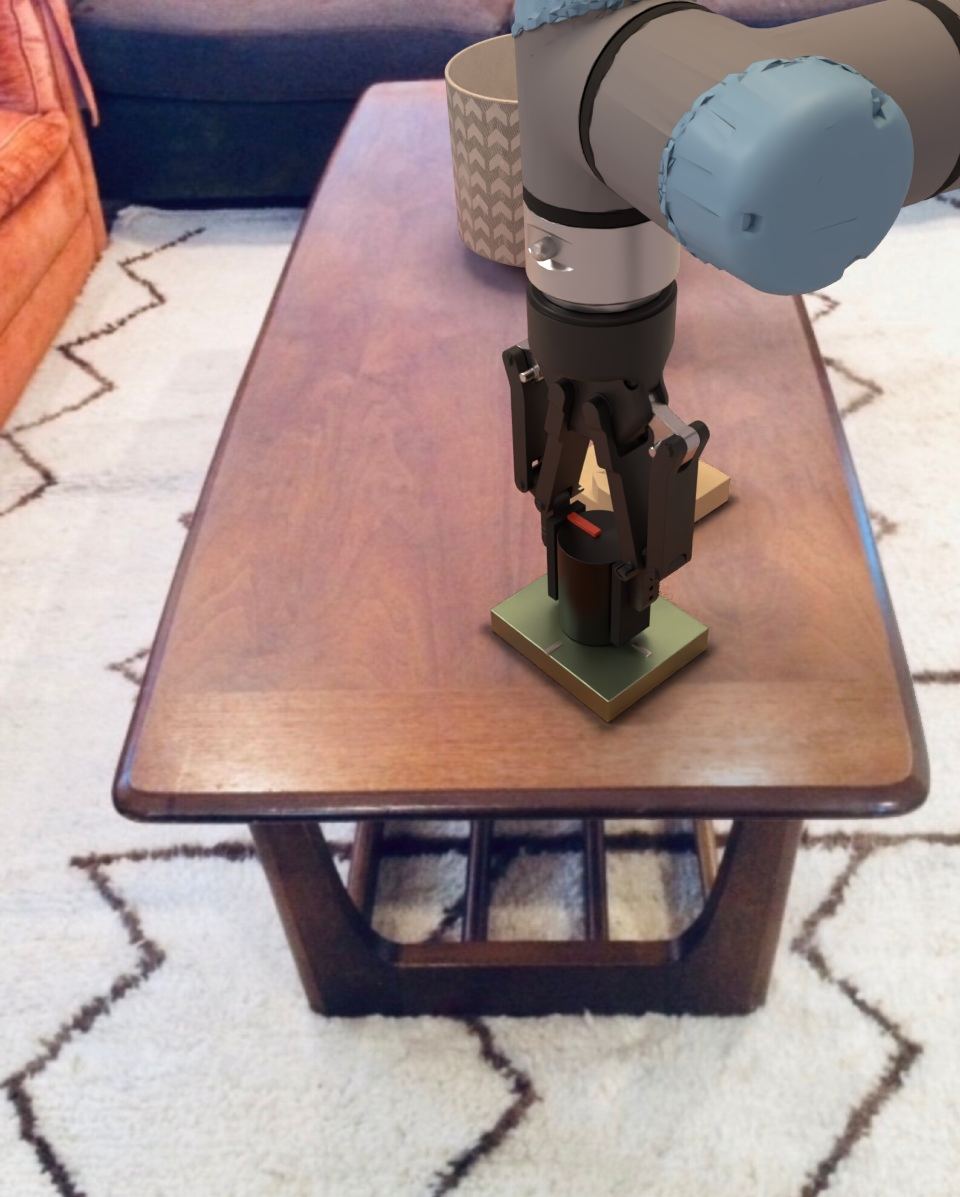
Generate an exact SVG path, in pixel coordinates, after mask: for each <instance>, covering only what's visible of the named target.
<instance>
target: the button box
mask: <svg viewBox="0 0 960 1197" xmlns="http://www.w3.org/2000/svg"><path fill="white" fill-rule="evenodd" d="M579 484H580V485H581V486H582V487H580V488H579V490H581V489H583V488H584V491H583V492H581V493H579V494H578V495H576V496H574V497H573V498H571V499H570V504H571V503H573V502H575V501H576V500H579V501H580V502H582V503H583V504H585V505H586V511H589V510H608V511H613V507H612V501H611V496H610V491H609V485H608V480H607V475H606V471H605V469H602V468H600V467H599V466H598V465H597V461H596V456H595V451H594V446H593V444H592V445H589V446H588V450H587V454H586V458H585V462H584V465H583V469H582V473H581V477H580V481H579ZM730 485H731V476H729V475H727V474H725V473H723V472H722V471H720V470H718V469H717V468H715V467H714V466H711V465H709V464H708V463H706V462H705V461H703V460H701V459H699V463H698V477H697V491H696V504H695V518H694V524H695V523H696V522H698V521H699V520H701V519H702V518H704V517H705V516H707V515H708V514H710V513H711V512H713V511H714V510H716V509H717V508H719V507H720V506H722V505H723V504H725V503H726V502H727V501H729V495H730V494H729V493H730Z"/></svg>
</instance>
